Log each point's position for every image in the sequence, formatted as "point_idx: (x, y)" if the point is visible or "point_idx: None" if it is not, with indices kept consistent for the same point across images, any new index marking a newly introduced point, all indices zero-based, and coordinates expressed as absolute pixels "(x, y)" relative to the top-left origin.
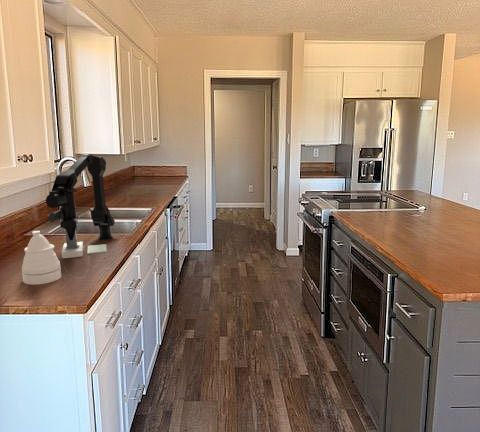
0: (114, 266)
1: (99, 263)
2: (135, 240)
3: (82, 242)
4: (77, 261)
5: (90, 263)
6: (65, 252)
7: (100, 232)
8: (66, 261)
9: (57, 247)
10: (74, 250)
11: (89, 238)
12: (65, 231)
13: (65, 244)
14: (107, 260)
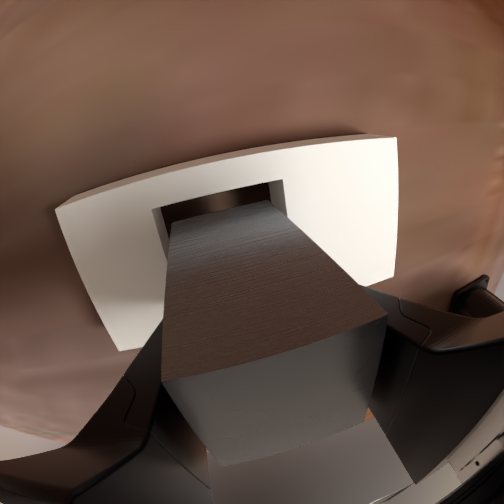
0: (30, 432)
1: (37, 402)
2: (365, 420)
3: (369, 283)
4: (30, 319)
5: (25, 376)
6: (67, 241)
7: (479, 313)
8: (18, 255)
9: (406, 81)
10: (122, 301)
11: (486, 240)
12: (161, 368)
13: (358, 155)
14: (79, 422)
